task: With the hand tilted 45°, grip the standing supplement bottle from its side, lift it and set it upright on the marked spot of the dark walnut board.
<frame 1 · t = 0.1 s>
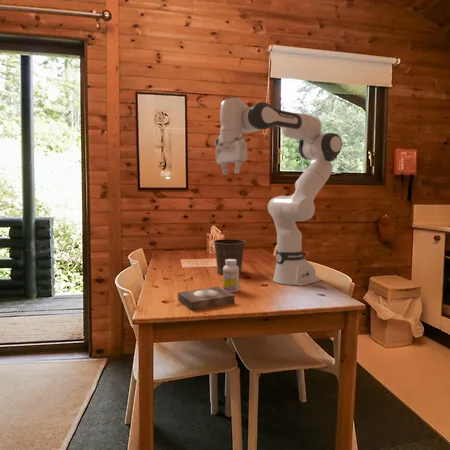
hand: (230, 174, 140), 48 cm above the table, tool pointing down, fingers open, 8 cm apart
supplement bottle: (230, 291, 143), on the table
walnut board: (205, 301, 128), on the table
plant pot: (229, 273, 175), on the table
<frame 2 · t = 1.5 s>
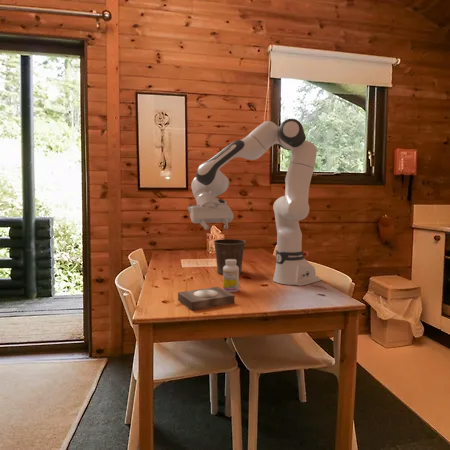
hand: (217, 228, 152), 25 cm above the table, tool tilted 45°, fingers open, 8 cm apart
nothing on the table moved.
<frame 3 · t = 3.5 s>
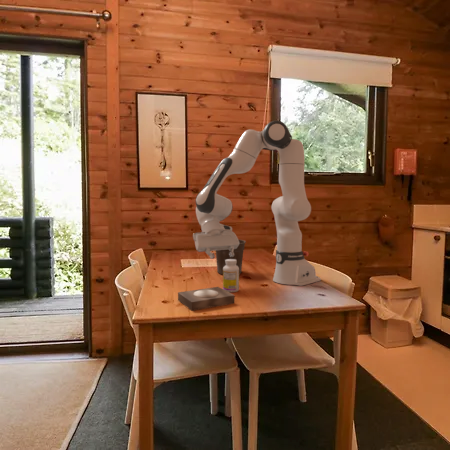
hand: (222, 256, 148), 13 cm above the table, tool tilted 45°, fingers open, 8 cm apart
nothing on the table moved.
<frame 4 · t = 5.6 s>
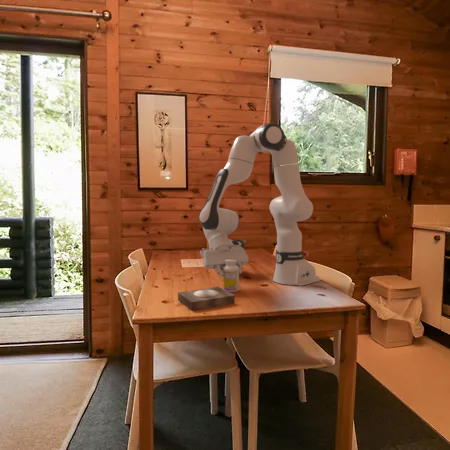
hand: (231, 274, 142), 7 cm above the table, tool tilted 45°, fingers closed on supplement bottle, 7 cm apart
supplement bottle: (230, 290, 143), on the table, touching gripper
everything else where it was.
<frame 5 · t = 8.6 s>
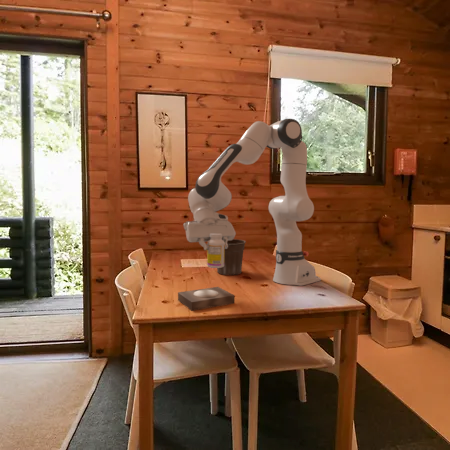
hand: (216, 248, 132), 19 cm above the table, tool tilted 45°, fingers closed on supplement bottle, 7 cm apart
supplement bottle: (215, 267, 134), point 12 cm above the table, touching gripper
everything else where it was.
when the fingers open (12 cm above the table, at t = 11.3 s): supplement bottle drops 1 cm, resting on walnut board.
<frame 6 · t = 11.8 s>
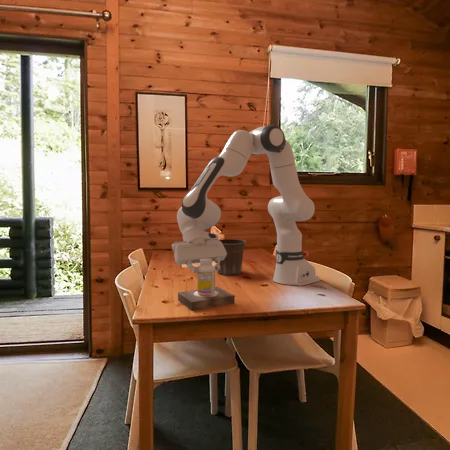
hand: (206, 270, 127), 12 cm above the table, tool tilted 45°, fingers open, 8 cm apart
supplement bottle: (206, 293, 128), point 3 cm above the table, touching walnut board
everything else where it was.
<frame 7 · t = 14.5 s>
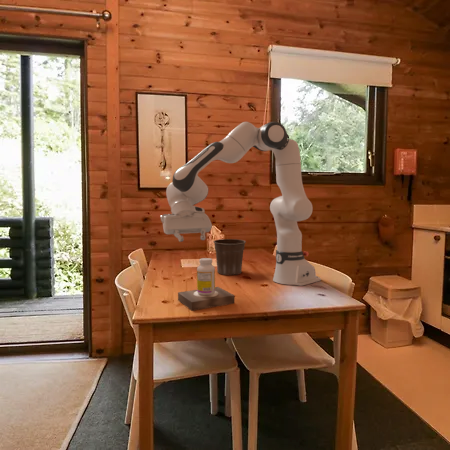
hand: (192, 240, 137), 22 cm above the table, tool tilted 45°, fingers open, 8 cm apart
nothing on the table moved.
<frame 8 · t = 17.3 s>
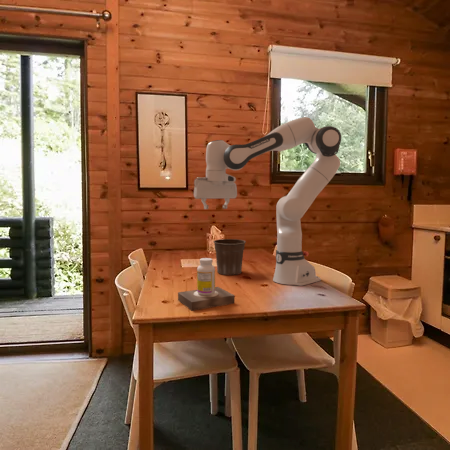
hand: (215, 208, 154), 33 cm above the table, tool pointing down, fingers open, 8 cm apart
nothing on the table moved.
at the end: supplement bottle inside the target area on the walnut board (0.1 cm from its centre), point 3.0 cm above the walnut board's base; supplement bottle tilted 1°; the gripper is holding nothing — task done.
